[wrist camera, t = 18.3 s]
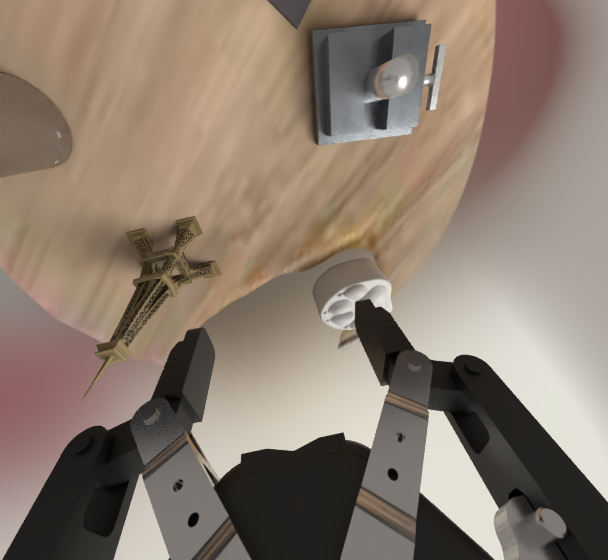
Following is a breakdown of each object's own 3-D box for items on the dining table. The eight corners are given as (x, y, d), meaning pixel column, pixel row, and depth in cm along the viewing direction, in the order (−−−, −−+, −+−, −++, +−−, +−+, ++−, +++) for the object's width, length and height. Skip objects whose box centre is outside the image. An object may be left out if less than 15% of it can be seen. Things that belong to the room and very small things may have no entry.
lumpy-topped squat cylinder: (377, 296, 50) (397, 324, 43) (318, 313, 50) (327, 344, 43) (374, 253, 44) (395, 278, 37) (307, 273, 45) (315, 301, 37)
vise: (317, 144, 33) (336, 151, 25) (310, 34, 27) (332, -8, 19) (417, 131, 34) (470, 133, 26) (432, 23, 28) (509, -24, 20)
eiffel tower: (162, 287, 42) (64, 447, 21) (126, 232, 36) (-58, 377, 15) (221, 273, 42) (181, 417, 21) (195, 216, 36) (104, 337, 15)
